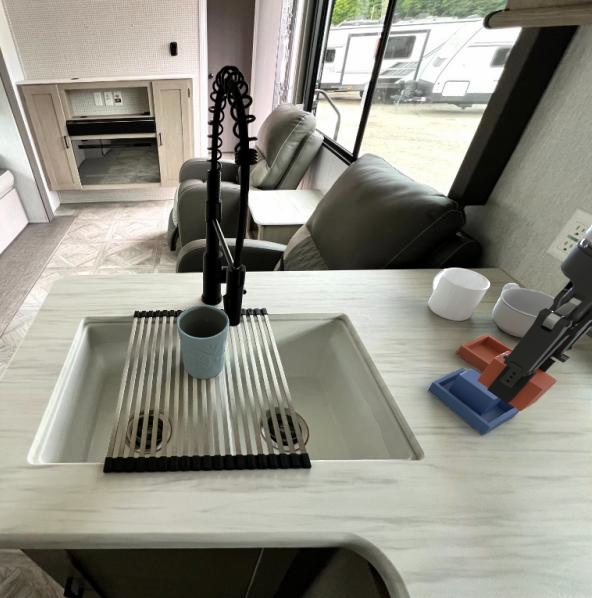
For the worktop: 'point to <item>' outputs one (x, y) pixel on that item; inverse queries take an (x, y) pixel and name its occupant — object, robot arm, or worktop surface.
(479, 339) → the tray rust
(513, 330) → the teacup
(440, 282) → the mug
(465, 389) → the blue rectangular block
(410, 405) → the worktop surface
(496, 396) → the robot arm
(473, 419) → the tray blue
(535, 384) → the rust bar
